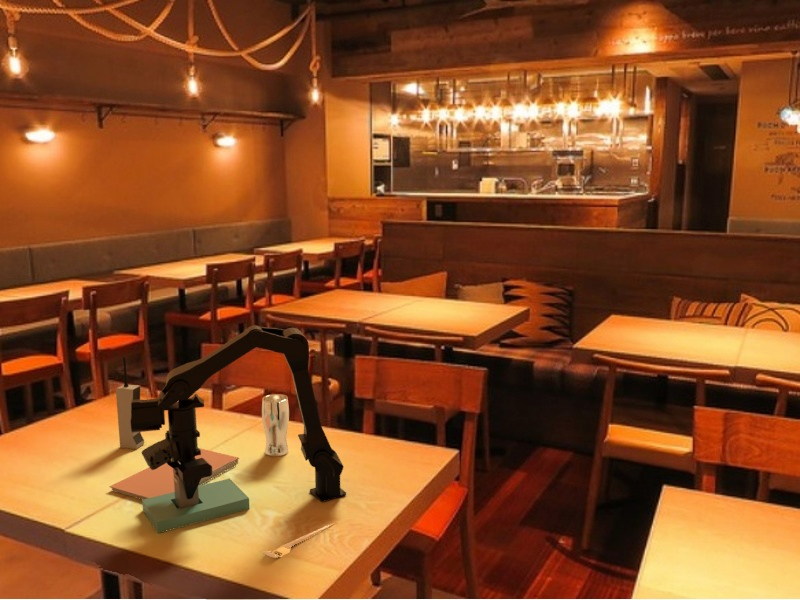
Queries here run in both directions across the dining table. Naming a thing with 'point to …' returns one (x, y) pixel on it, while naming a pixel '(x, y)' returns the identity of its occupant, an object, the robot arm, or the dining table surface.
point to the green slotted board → (196, 506)
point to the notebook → (169, 476)
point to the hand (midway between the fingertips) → (186, 494)
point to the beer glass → (275, 424)
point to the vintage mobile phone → (127, 413)
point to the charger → (183, 493)
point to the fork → (294, 542)
